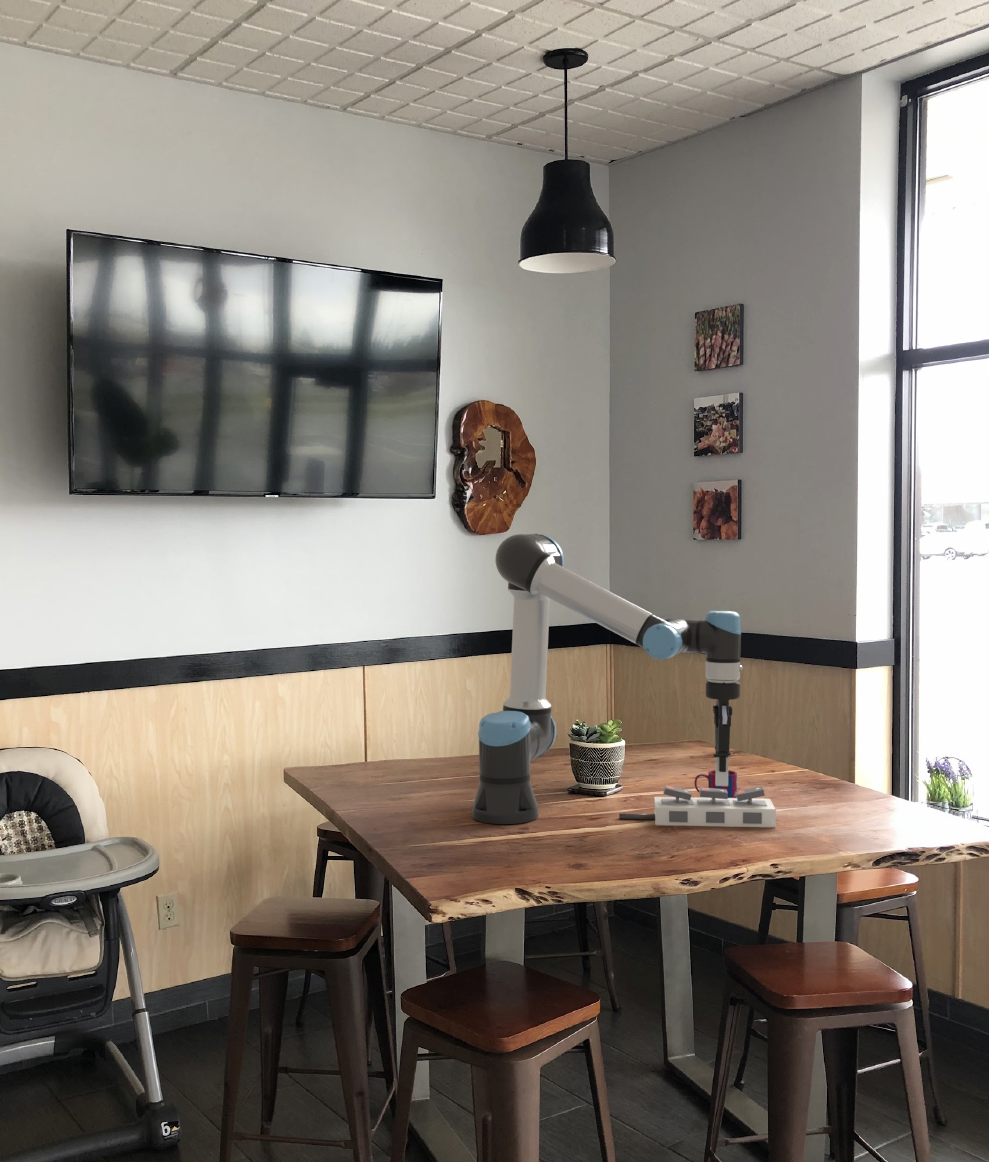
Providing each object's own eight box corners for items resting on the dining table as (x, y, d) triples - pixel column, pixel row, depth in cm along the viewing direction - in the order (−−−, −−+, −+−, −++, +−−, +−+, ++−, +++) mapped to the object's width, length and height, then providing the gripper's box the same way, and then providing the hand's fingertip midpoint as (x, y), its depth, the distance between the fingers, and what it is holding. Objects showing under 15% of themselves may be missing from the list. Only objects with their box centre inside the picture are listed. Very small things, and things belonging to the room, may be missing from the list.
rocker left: (663, 794, 251) (665, 787, 251) (663, 790, 255) (664, 784, 255) (690, 800, 251) (691, 794, 250) (689, 796, 254) (690, 790, 254)
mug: (736, 804, 267) (736, 775, 267) (693, 802, 269) (693, 774, 269) (737, 798, 274) (737, 770, 273) (695, 796, 276) (695, 768, 276)
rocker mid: (700, 796, 250) (700, 790, 250) (699, 793, 254) (699, 786, 254) (727, 799, 250) (727, 792, 250) (726, 795, 253) (726, 789, 253)
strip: (619, 824, 249) (618, 800, 249) (619, 813, 259) (619, 790, 259) (775, 827, 245) (775, 803, 245) (769, 816, 255) (769, 793, 255)
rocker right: (738, 801, 249) (736, 795, 249) (736, 797, 253) (734, 791, 253) (764, 795, 249) (763, 789, 249) (762, 792, 252) (761, 785, 252)
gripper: (742, 684, 244) (741, 792, 245) (737, 677, 257) (736, 779, 258) (707, 684, 244) (706, 791, 245) (703, 676, 257) (702, 778, 258)
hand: (721, 785), depth 251 cm, fingers closed
